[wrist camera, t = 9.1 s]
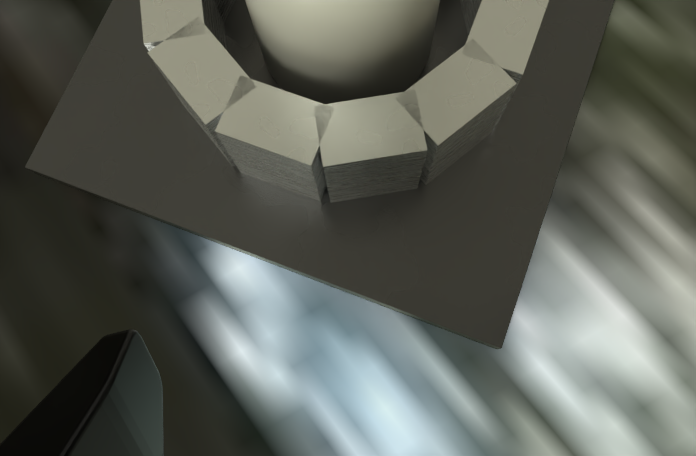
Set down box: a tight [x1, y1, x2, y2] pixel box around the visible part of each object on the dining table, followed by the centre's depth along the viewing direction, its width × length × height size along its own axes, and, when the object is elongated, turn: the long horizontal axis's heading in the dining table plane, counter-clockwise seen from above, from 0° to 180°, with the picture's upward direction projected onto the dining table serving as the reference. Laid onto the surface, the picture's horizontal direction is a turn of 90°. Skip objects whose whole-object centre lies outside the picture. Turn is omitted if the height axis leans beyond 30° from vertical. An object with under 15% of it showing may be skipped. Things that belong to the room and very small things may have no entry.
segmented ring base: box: [25, 0, 614, 349], centre depth 17 cm, size 14×14×4 cm
